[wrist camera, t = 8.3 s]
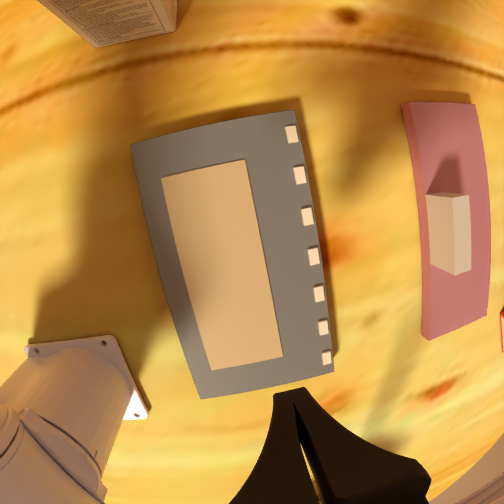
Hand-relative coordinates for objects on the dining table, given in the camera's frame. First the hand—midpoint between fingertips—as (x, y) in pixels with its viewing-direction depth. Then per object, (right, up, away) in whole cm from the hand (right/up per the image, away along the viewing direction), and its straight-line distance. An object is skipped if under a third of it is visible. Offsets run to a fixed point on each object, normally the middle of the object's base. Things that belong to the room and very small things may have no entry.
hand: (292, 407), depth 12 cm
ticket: (-2, +6, +8) cm, 10 cm away
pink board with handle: (+14, +9, +9) cm, 19 cm away
